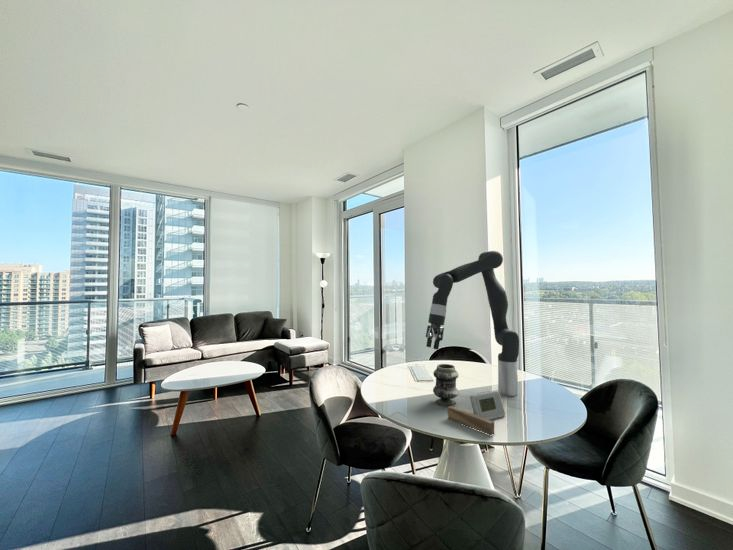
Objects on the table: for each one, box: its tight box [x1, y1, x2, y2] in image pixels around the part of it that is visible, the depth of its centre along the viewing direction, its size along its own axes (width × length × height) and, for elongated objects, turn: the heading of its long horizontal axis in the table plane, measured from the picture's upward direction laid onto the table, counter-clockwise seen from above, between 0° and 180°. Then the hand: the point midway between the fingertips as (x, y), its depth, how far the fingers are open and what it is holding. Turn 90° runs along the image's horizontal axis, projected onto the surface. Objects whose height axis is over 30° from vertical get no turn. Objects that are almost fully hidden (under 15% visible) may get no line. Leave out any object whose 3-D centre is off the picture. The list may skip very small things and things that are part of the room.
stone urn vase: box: [432, 363, 460, 408], centre depth 159 cm, size 12×12×18 cm
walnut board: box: [447, 406, 495, 435], centre depth 134 cm, size 2×20×5 cm, turn 39°
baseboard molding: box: [408, 363, 434, 382], centre depth 207 cm, size 31×3×12 cm
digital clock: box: [470, 389, 506, 421], centre depth 142 cm, size 16×9×11 cm, turn 103°
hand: (432, 348), depth 156 cm, fingers open, 8 cm apart
